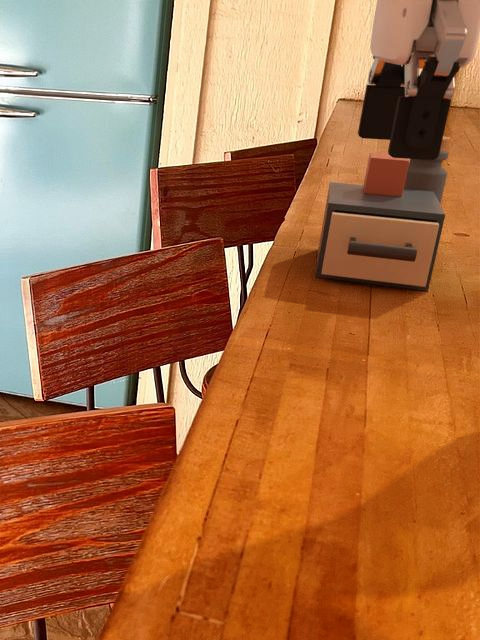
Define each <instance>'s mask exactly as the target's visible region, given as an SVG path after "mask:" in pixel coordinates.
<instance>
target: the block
mask: <svg viewBox="0 0 480 640" xmlns="http://www.w3.org/2000/svg"><path fill="white" fill-rule="evenodd" d="M367 159H368V160H367V166H366V170H365V176H364V181H363V185H364V186H363V189H364V193H367V194H377V195H388V196H399V197H402V194H403V189H404V185H405V180H406V175H407V170H408V165H409V162H410V159H405V158H393V157H391V156H390V155H389V154H388V153H378V152H369V154H368V158H367Z"/></svg>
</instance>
